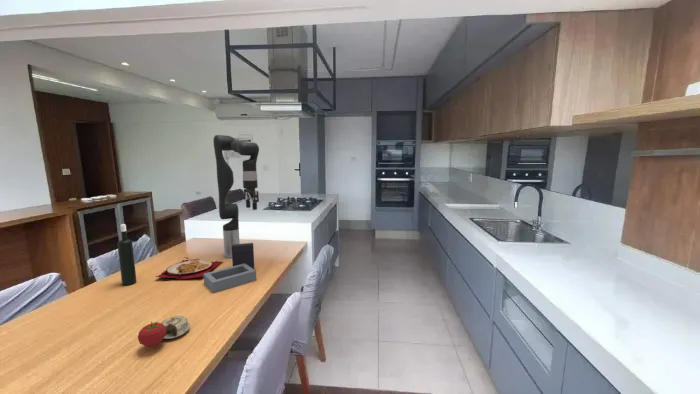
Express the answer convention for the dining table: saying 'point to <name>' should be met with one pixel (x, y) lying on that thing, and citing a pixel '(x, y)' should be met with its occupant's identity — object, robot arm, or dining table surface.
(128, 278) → the wine bottle
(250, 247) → the dark bevelled slab
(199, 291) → the dining table surface
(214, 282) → the tray
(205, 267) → the plate with food
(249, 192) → the robot arm
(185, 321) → the cake
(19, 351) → the dining table surface
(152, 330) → the tomato
